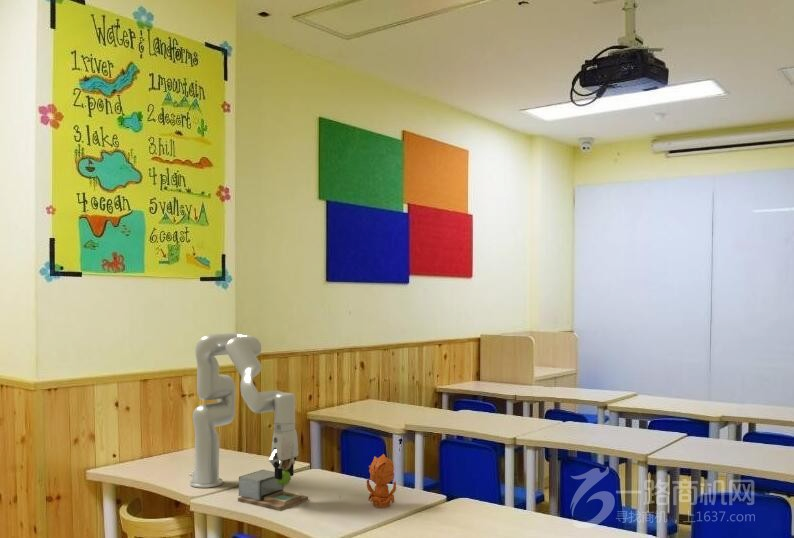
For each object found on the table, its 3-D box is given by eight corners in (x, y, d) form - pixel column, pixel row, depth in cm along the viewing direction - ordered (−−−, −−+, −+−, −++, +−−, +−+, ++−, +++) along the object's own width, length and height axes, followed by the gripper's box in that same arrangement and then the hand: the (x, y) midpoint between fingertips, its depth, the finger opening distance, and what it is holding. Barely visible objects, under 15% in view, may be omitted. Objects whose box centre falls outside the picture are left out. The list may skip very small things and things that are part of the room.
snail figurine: (290, 487, 264) (290, 453, 264) (273, 486, 265) (273, 452, 266) (295, 483, 269) (295, 450, 270) (278, 482, 270) (279, 449, 271)
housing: (238, 495, 270) (238, 476, 270) (262, 487, 281) (263, 469, 281) (259, 500, 265) (259, 480, 265) (283, 492, 276) (283, 473, 276)
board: (237, 501, 268) (237, 494, 268) (267, 491, 282) (267, 484, 282) (279, 510, 258) (279, 503, 258) (308, 499, 271) (308, 493, 271)
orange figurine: (401, 502, 269) (401, 453, 269) (391, 510, 259) (391, 459, 259) (372, 499, 272) (373, 450, 273) (361, 507, 262) (362, 456, 263)
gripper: (276, 432, 258) (275, 483, 258) (307, 424, 273) (307, 473, 272) (260, 429, 262) (260, 480, 262) (292, 422, 277) (291, 471, 276)
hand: (284, 476), depth 267 cm, fingers closed on snail figurine, 5 cm apart
